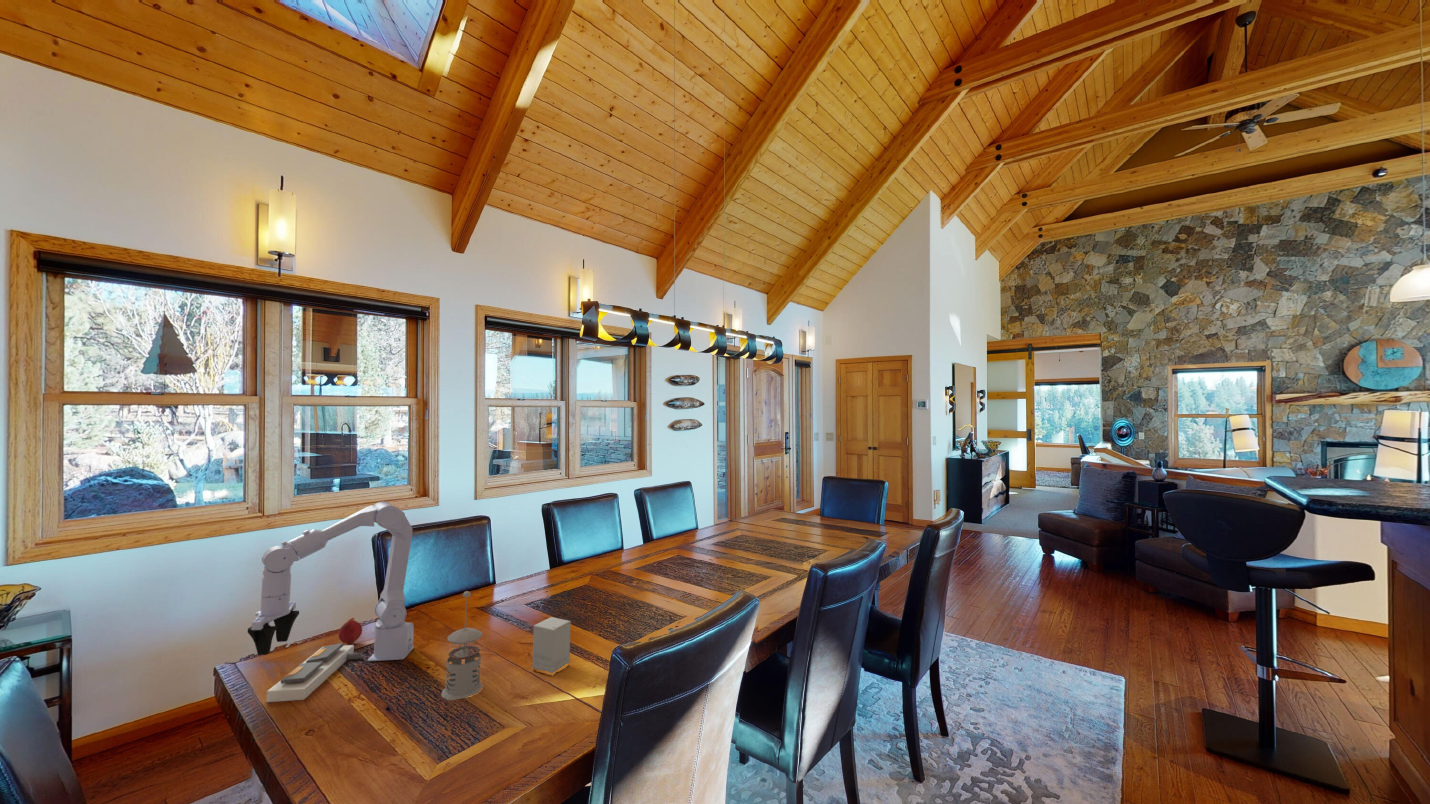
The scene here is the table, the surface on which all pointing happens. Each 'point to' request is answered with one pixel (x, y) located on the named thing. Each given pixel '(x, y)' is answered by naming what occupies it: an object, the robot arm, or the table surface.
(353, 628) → the onion
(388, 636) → the robot arm
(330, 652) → the rocker
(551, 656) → the supplement box
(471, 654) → the french press
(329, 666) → the rocker switch panel
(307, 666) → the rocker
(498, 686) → the table surface
